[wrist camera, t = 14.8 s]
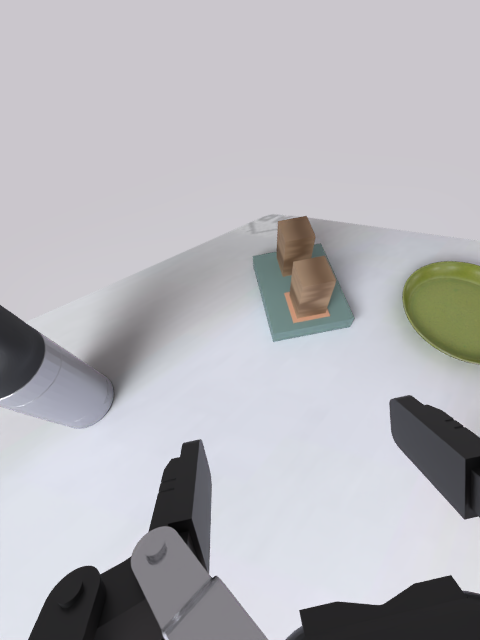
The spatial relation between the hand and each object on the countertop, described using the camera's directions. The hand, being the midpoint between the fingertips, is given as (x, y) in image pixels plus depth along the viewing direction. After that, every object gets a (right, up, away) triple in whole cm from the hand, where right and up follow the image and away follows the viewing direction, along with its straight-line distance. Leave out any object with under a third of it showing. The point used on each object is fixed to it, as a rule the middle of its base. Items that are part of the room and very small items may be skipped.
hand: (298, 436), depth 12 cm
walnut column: (+8, +16, +43) cm, 47 cm away
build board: (+9, +10, +43) cm, 45 cm away
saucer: (+36, +5, +38) cm, 53 cm away
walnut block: (+9, +8, +38) cm, 40 cm away
